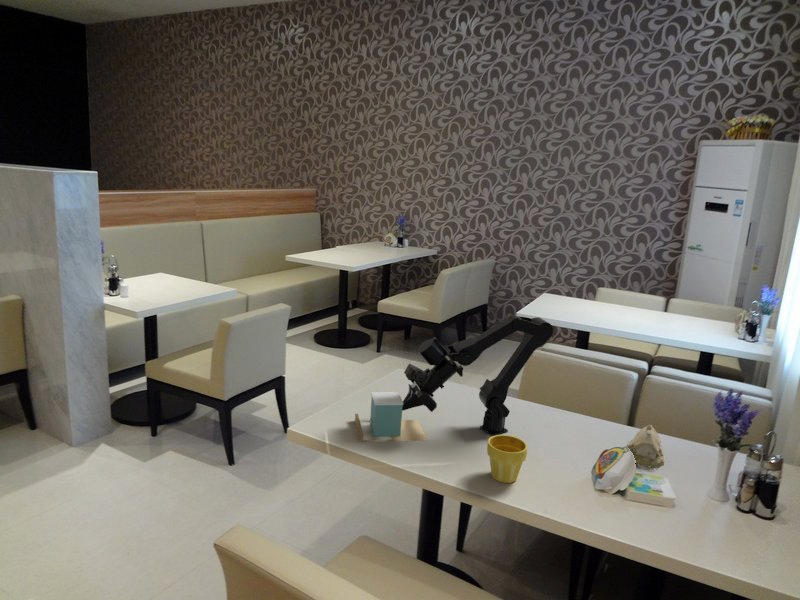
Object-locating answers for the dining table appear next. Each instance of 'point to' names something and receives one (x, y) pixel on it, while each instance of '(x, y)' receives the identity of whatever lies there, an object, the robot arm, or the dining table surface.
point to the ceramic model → (647, 448)
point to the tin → (386, 414)
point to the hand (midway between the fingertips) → (400, 409)
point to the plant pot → (506, 457)
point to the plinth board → (408, 433)
